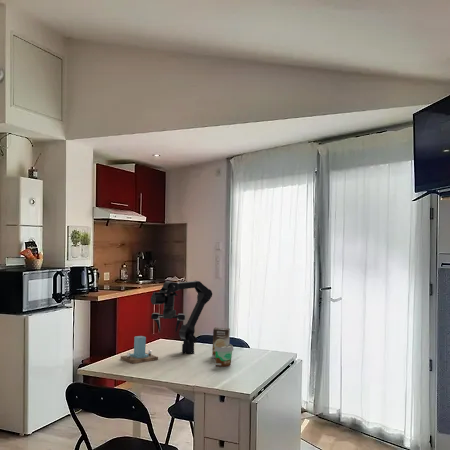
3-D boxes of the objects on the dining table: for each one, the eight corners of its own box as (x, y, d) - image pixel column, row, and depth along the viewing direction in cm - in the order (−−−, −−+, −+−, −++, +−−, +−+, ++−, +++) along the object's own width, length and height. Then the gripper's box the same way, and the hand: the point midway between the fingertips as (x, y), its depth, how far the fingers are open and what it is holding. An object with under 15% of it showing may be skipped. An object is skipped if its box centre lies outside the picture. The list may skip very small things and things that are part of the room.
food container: (223, 368, 248) (224, 348, 248) (214, 366, 251) (214, 347, 252) (237, 364, 257) (238, 345, 258) (228, 362, 261) (229, 343, 262)
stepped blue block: (141, 354, 267) (142, 335, 267) (148, 357, 261) (149, 337, 262) (130, 356, 262) (131, 336, 263) (137, 358, 257) (137, 338, 257)
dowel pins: (150, 354, 267) (150, 350, 267) (151, 355, 266) (152, 350, 266) (126, 357, 258) (126, 353, 258) (128, 358, 256) (128, 353, 257)
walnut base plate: (146, 355, 271) (146, 352, 271) (158, 359, 262) (158, 357, 262) (120, 359, 261) (120, 356, 261) (131, 363, 252) (131, 360, 252)
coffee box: (211, 358, 270) (212, 329, 271) (212, 355, 277) (213, 327, 278) (228, 359, 269) (229, 329, 270) (229, 356, 276) (230, 328, 277)
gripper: (150, 305, 267) (149, 333, 267) (185, 306, 268) (184, 334, 268) (152, 302, 278) (151, 330, 278) (185, 303, 280) (184, 331, 279)
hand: (167, 331), depth 275 cm, fingers open, 9 cm apart
